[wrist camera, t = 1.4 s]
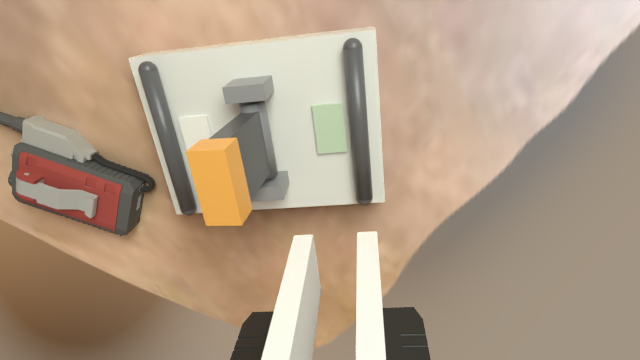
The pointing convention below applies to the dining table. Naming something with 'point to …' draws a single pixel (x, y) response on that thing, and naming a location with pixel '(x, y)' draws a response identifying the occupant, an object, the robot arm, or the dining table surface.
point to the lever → (233, 166)
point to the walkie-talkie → (73, 177)
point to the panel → (274, 113)
